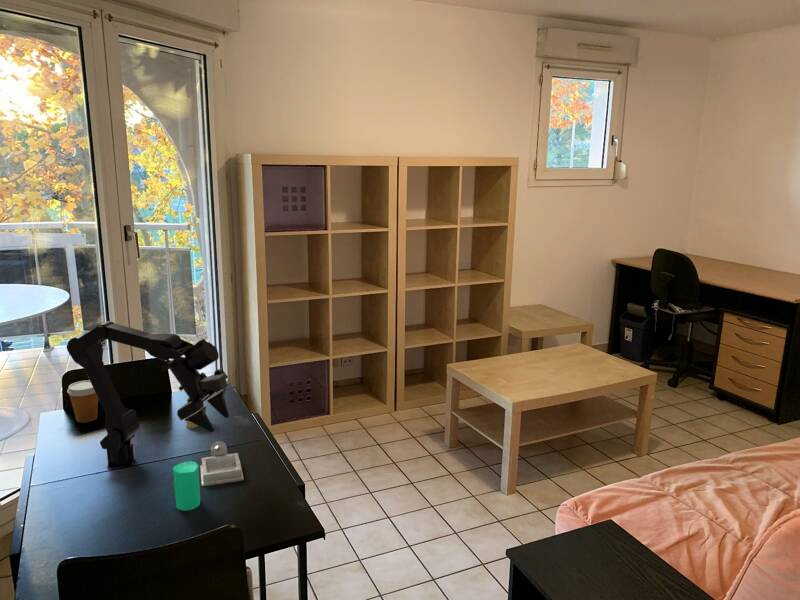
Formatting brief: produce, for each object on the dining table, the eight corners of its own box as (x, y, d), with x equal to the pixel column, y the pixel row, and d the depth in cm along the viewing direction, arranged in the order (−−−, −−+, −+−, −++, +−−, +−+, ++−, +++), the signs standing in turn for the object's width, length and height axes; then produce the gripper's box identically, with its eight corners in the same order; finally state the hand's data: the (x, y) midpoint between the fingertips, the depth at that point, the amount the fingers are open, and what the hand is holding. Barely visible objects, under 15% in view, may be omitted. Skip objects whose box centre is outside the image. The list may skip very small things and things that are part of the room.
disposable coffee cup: (94, 425, 198) (90, 390, 195) (65, 424, 198) (60, 390, 195) (108, 413, 207) (104, 380, 204) (80, 412, 207) (76, 379, 204)
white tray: (201, 486, 163) (200, 471, 162) (199, 457, 179) (198, 443, 178) (243, 480, 167) (243, 465, 166) (237, 451, 182) (237, 438, 181)
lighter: (192, 429, 196) (190, 400, 194) (183, 427, 198) (181, 399, 195) (207, 421, 203) (205, 393, 200) (198, 419, 204) (196, 391, 202)
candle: (177, 513, 151) (174, 469, 149) (174, 500, 157) (171, 458, 154) (202, 507, 154) (199, 464, 151) (198, 495, 159) (195, 453, 156)
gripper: (194, 375, 154) (228, 426, 156) (226, 352, 172) (256, 398, 174) (161, 395, 157) (195, 444, 159) (196, 370, 175) (226, 415, 176)
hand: (220, 424), depth 167 cm, fingers open, 9 cm apart
